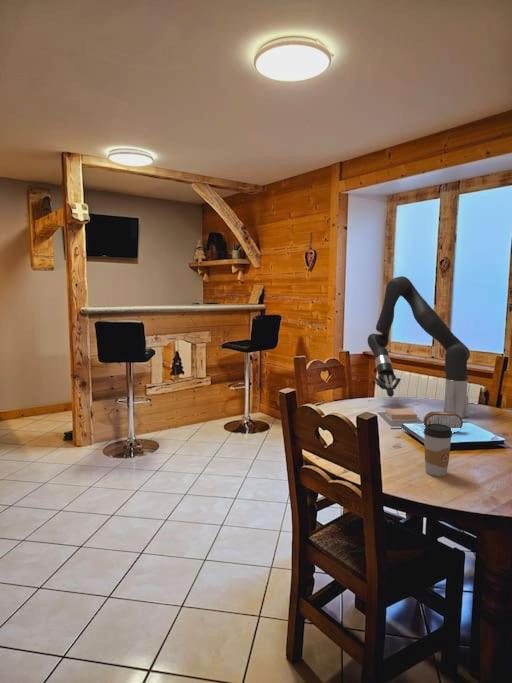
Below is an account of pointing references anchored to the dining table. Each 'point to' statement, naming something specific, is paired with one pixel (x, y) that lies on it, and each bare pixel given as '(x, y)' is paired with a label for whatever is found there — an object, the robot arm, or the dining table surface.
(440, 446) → the coffee cup
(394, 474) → the dining table surface
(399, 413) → the tile
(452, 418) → the tin
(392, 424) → the slate board
